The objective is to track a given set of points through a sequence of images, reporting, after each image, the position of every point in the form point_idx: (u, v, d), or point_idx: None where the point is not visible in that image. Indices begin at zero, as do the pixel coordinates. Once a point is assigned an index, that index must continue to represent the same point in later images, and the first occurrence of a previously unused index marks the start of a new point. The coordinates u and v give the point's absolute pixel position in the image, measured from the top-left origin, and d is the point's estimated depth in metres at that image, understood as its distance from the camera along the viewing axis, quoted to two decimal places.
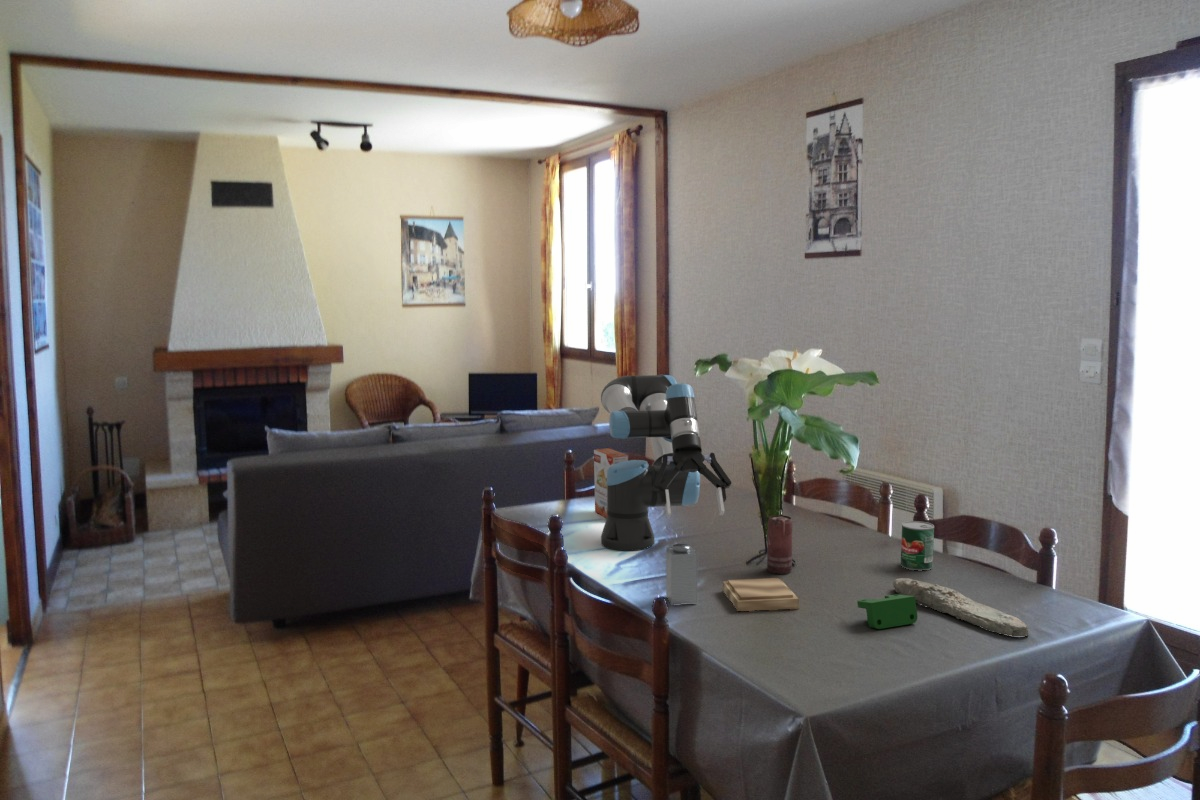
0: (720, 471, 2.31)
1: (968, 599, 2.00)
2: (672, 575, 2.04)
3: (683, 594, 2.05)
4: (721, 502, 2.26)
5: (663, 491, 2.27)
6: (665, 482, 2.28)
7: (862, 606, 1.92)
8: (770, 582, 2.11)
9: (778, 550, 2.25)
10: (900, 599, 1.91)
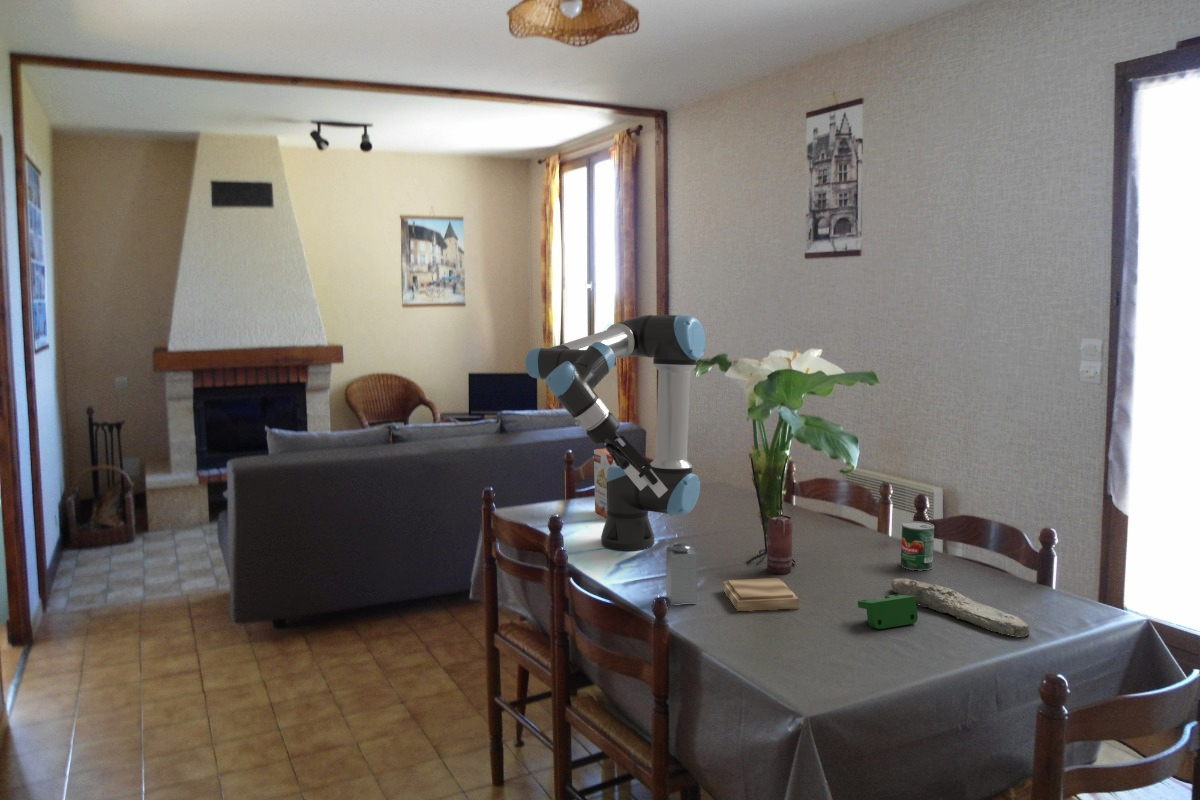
0: (631, 461, 2.01)
1: (967, 599, 2.00)
2: (672, 575, 2.04)
3: (683, 594, 2.05)
4: (652, 489, 2.03)
5: (625, 469, 2.16)
6: (618, 463, 2.15)
7: (862, 606, 1.92)
8: (770, 582, 2.11)
9: (778, 550, 2.25)
10: (900, 599, 1.91)
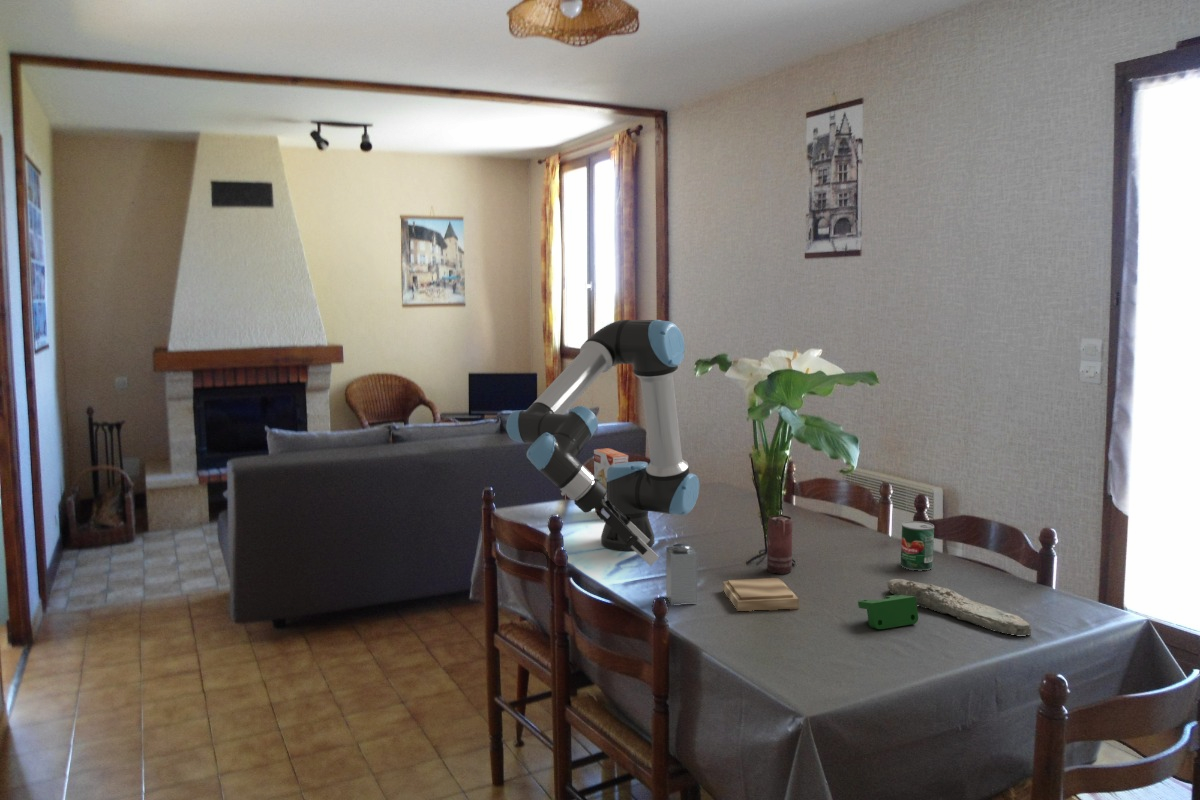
0: None
1: (966, 598, 2.00)
2: (672, 575, 2.04)
3: (683, 594, 2.05)
4: None
5: None
6: None
7: (863, 606, 1.92)
8: (770, 582, 2.11)
9: (778, 550, 2.25)
10: (901, 599, 1.91)
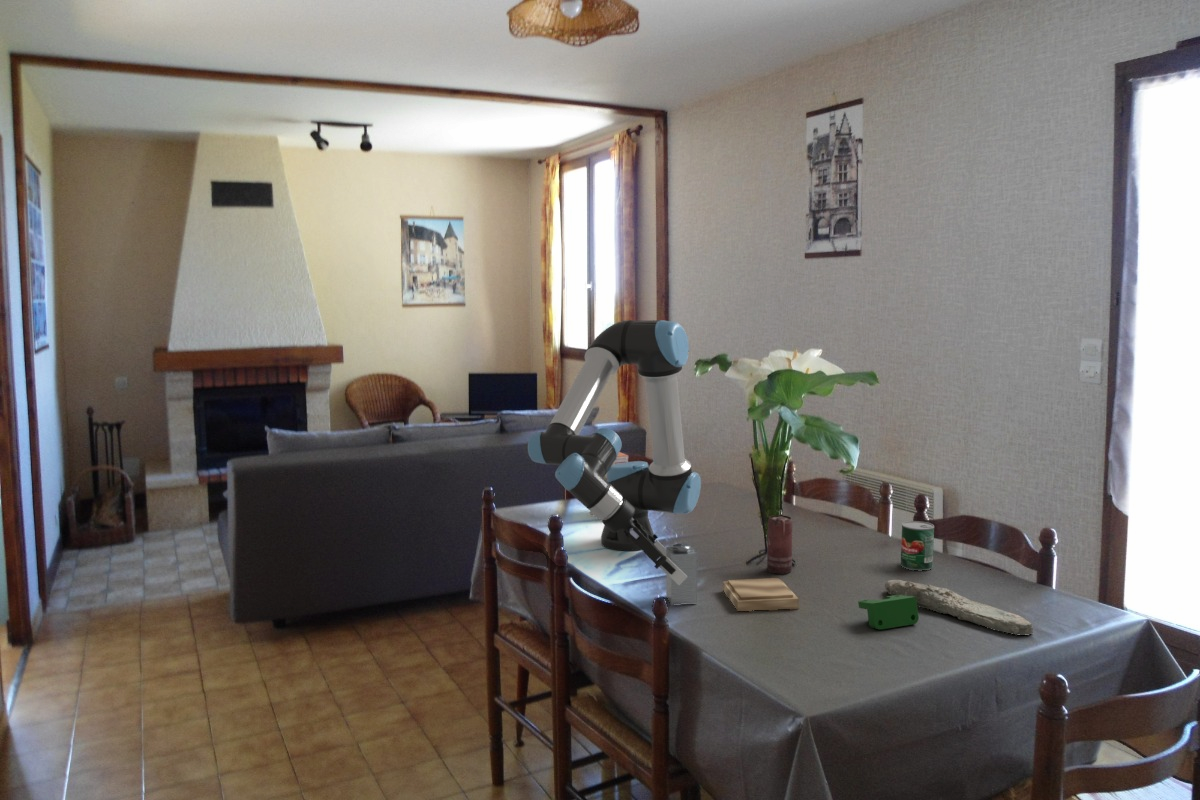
0: (645, 552, 1.97)
1: (965, 598, 2.00)
2: None
3: (683, 594, 2.05)
4: (671, 577, 1.99)
5: None
6: None
7: (863, 607, 1.91)
8: (770, 582, 2.11)
9: (778, 550, 2.25)
10: (901, 600, 1.91)
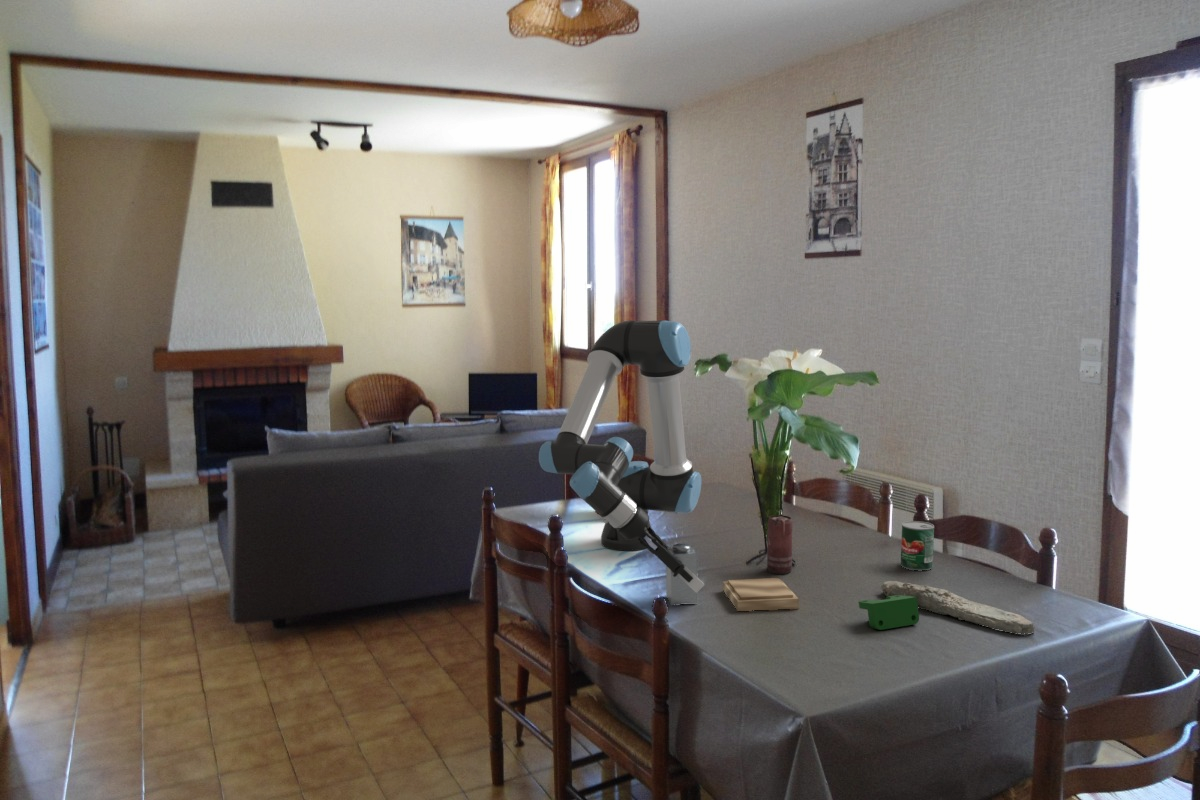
0: (663, 562, 2.01)
1: (963, 599, 2.00)
2: (672, 575, 2.04)
3: (683, 594, 2.05)
4: (688, 585, 2.04)
5: None
6: None
7: (863, 607, 1.91)
8: (770, 582, 2.11)
9: (778, 550, 2.25)
10: (902, 600, 1.91)
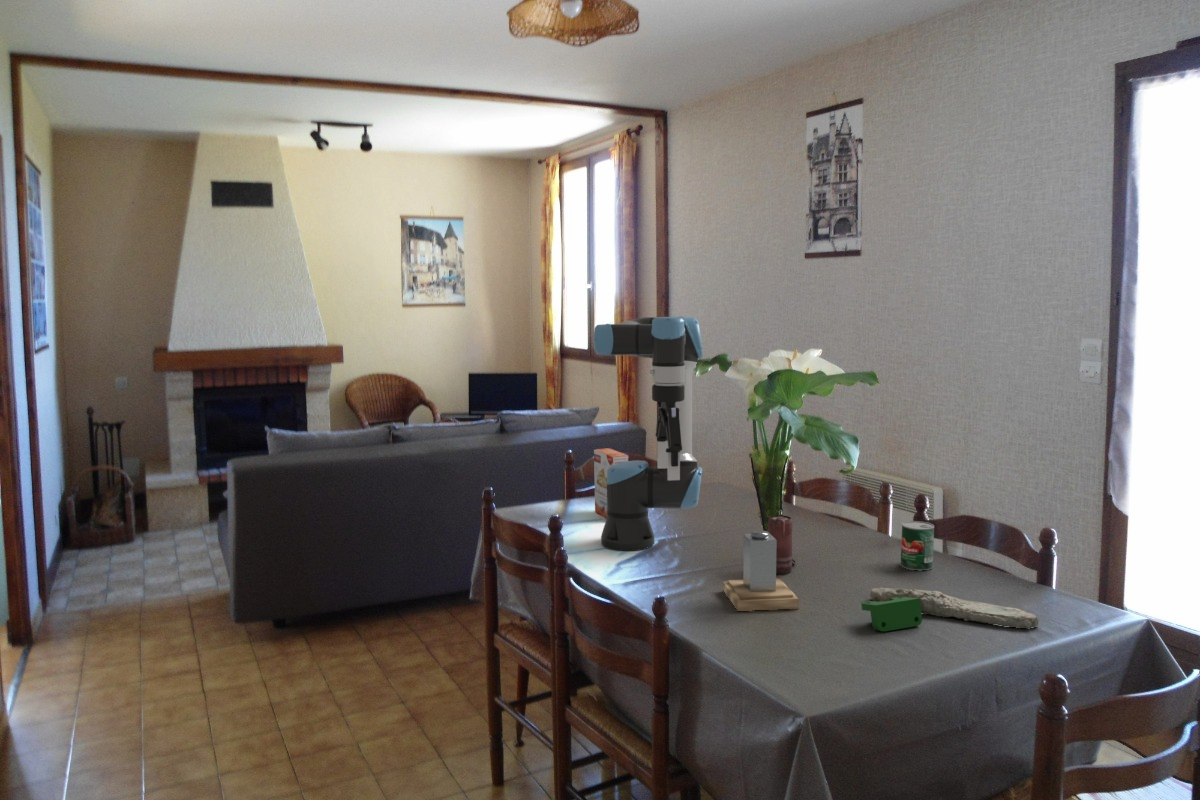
0: (669, 432, 2.01)
1: (956, 598, 2.00)
2: (751, 561, 2.04)
3: (762, 580, 2.04)
4: (667, 469, 2.03)
5: None
6: (658, 433, 2.16)
7: (866, 608, 1.90)
8: None
9: (778, 550, 2.25)
10: (904, 601, 1.90)
